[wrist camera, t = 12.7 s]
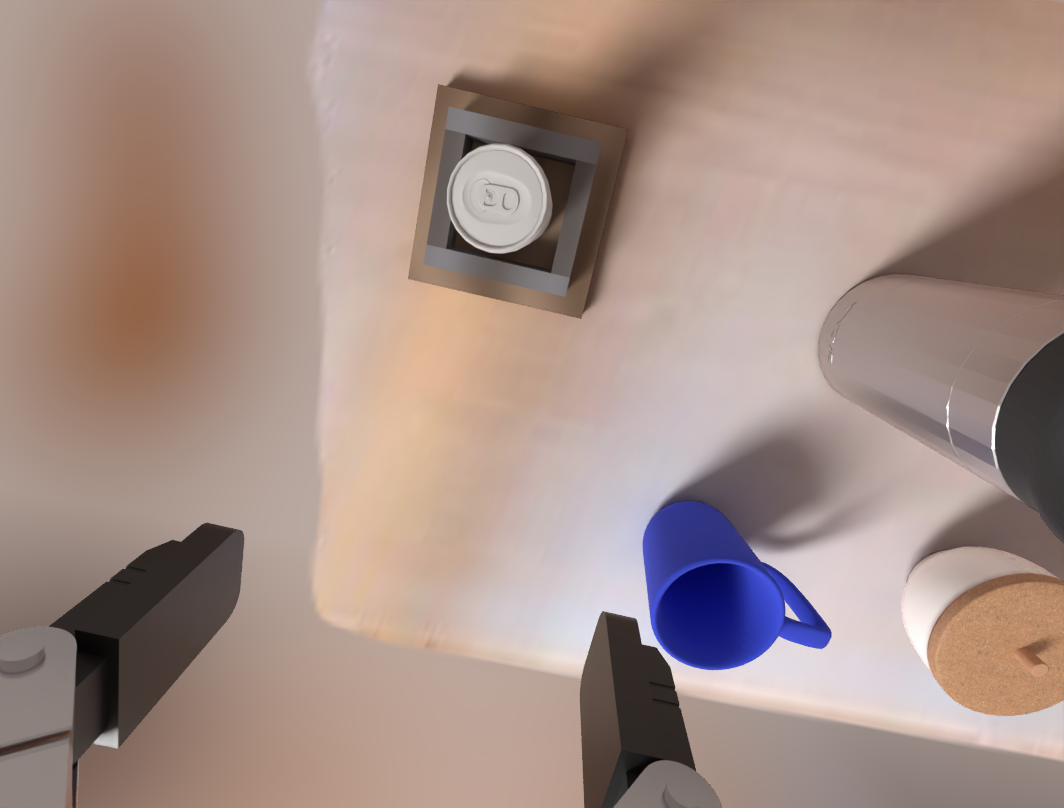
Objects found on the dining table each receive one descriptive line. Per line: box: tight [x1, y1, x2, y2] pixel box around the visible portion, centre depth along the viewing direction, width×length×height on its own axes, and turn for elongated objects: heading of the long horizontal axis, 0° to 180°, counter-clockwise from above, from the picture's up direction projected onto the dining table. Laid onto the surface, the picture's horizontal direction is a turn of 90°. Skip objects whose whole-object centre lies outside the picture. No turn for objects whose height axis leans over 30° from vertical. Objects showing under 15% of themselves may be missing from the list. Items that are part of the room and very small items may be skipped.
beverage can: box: [447, 143, 553, 254], centre depth 32 cm, size 5×5×12 cm
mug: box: [643, 501, 831, 670], centre depth 41 cm, size 8×12×10 cm
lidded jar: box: [901, 547, 1064, 716], centre depth 41 cm, size 11×11×9 cm
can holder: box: [408, 84, 628, 319], centre depth 37 cm, size 12×12×4 cm
